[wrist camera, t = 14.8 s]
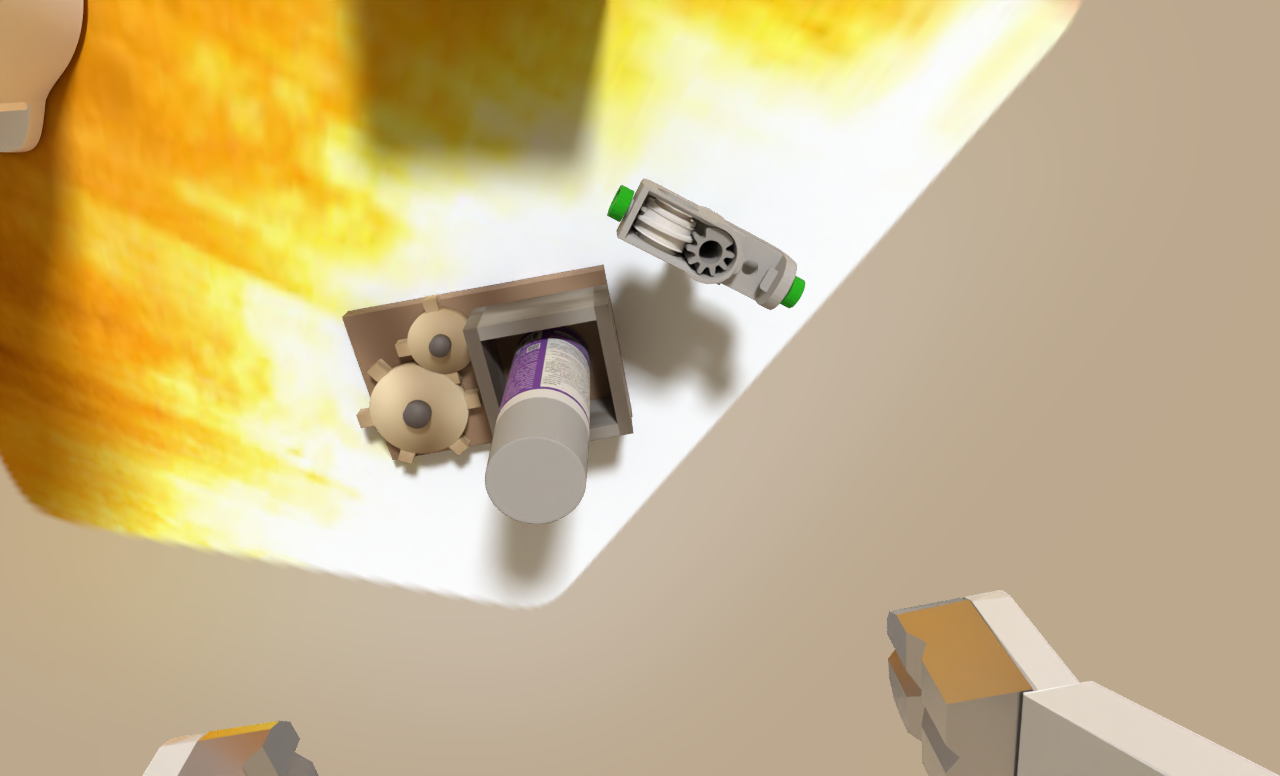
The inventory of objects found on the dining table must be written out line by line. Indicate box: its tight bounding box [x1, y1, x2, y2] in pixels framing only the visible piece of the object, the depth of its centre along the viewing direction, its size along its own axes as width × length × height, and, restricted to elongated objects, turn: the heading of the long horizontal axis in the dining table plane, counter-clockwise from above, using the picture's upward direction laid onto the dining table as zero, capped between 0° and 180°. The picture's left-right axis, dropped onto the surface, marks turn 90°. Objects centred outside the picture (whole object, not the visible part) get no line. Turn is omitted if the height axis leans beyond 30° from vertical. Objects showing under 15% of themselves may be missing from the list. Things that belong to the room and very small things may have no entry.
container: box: [485, 325, 590, 524], centre depth 39 cm, size 5×5×15 cm
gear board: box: [342, 265, 633, 464], centre depth 45 cm, size 17×10×5 cm, turn 100°
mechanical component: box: [607, 179, 805, 310], centre depth 39 cm, size 3×10×10 cm, turn 62°
